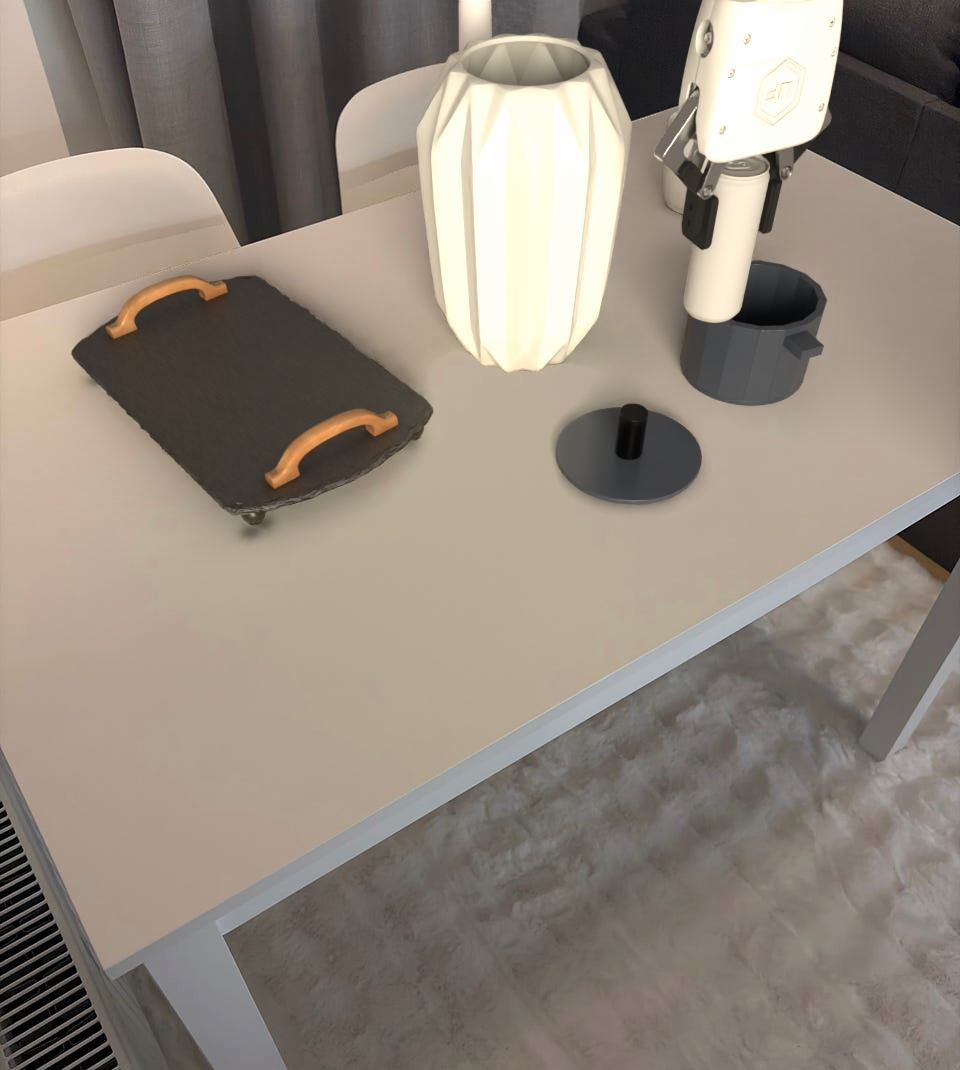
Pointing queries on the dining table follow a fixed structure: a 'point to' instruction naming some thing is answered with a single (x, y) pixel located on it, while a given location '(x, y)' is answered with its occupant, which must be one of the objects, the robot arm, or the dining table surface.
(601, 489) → the lid
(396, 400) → the serving tray
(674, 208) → the mug
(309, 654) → the dining table surface
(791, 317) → the pot
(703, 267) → the beverage can
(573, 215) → the vase
